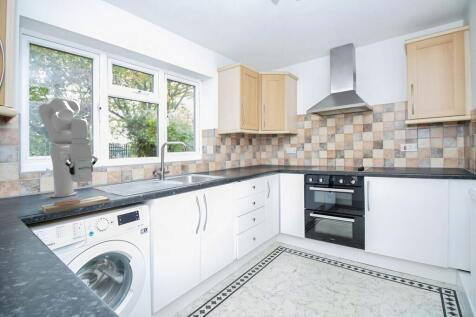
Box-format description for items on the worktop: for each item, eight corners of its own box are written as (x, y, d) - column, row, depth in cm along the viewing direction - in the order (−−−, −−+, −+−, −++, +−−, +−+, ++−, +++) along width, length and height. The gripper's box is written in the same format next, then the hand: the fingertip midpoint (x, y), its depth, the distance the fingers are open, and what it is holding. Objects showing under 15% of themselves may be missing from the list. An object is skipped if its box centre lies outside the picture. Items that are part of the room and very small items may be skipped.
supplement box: (77, 182, 122) (76, 158, 122) (70, 181, 126) (69, 158, 125) (92, 180, 129) (91, 158, 128) (85, 179, 132) (84, 157, 132)
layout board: (41, 209, 109) (40, 203, 109) (101, 199, 129) (101, 194, 128) (46, 213, 102) (46, 206, 102) (109, 202, 121) (109, 196, 121)
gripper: (95, 142, 135) (96, 172, 136) (58, 141, 122) (60, 175, 123) (100, 142, 130) (101, 173, 131) (62, 141, 117) (64, 176, 118)
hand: (81, 173), depth 127 cm, fingers closed on supplement box, 8 cm apart
